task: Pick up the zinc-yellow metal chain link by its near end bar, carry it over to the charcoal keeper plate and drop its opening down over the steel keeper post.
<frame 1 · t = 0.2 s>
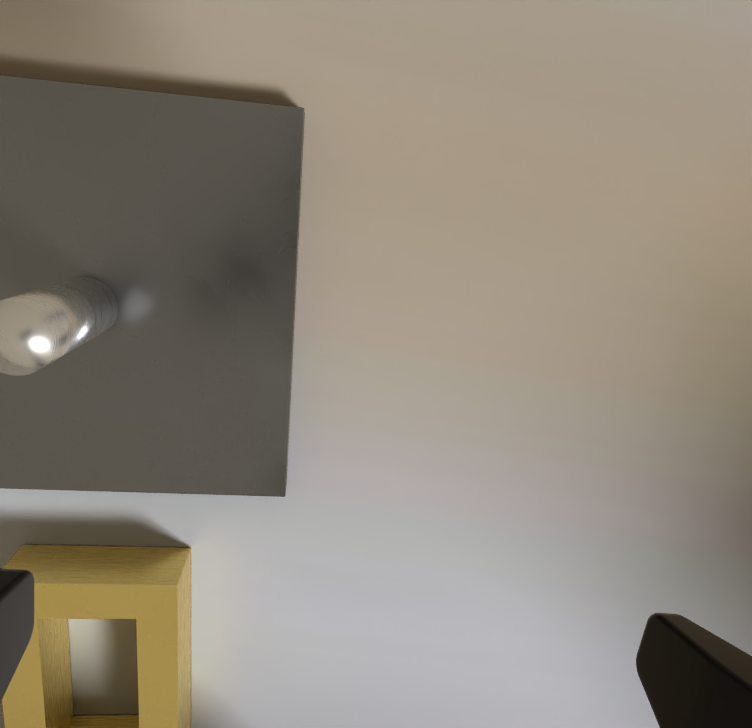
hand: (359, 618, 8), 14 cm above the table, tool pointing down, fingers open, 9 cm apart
keeper plate: (98, 301, 21), on the table
chain link: (112, 649, 24), on the table
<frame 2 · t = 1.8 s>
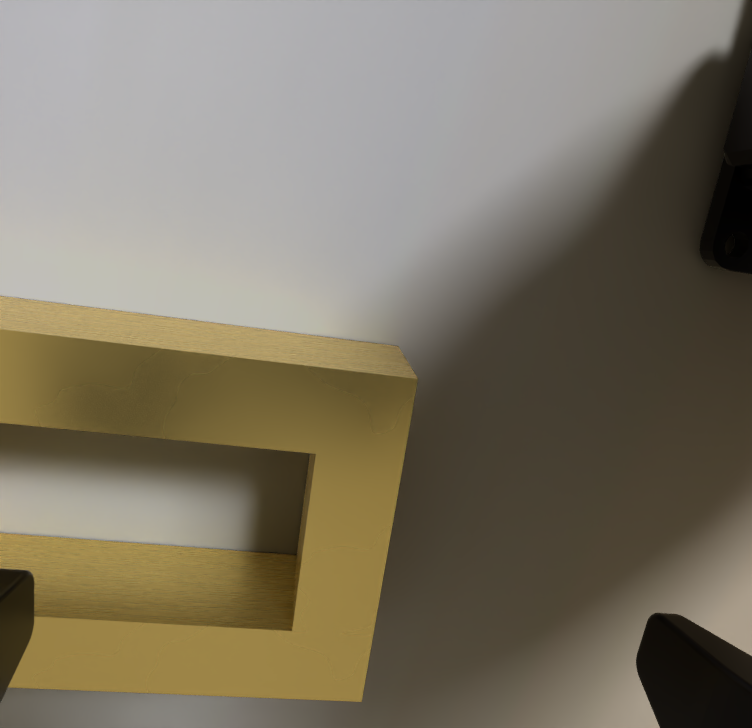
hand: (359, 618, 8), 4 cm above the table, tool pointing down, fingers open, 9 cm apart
chain link: (136, 468, 12), on the table
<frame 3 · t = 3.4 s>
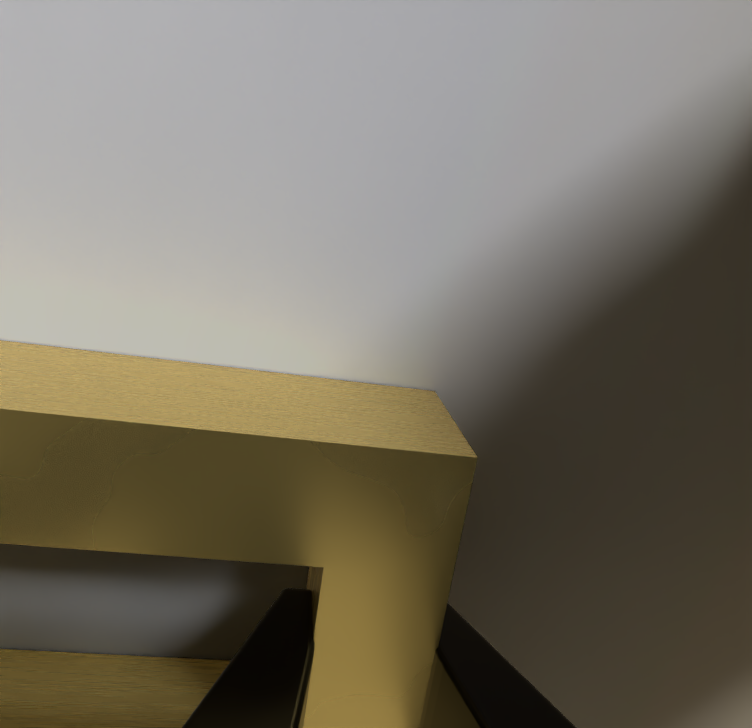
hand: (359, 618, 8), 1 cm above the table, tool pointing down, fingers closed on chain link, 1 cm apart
chain link: (78, 556, 9), on the table, touching gripper
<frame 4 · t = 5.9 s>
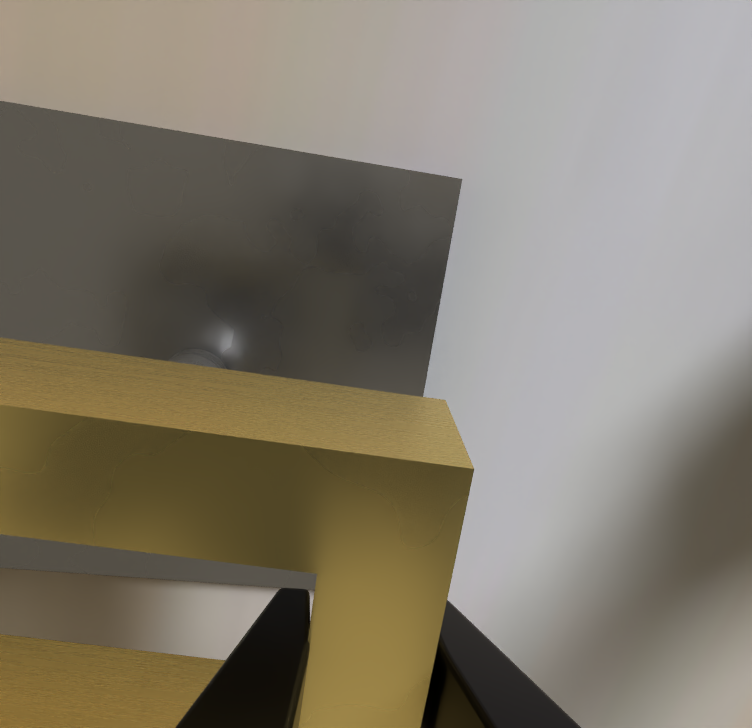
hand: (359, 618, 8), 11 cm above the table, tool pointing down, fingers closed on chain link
keeper plate: (202, 371, 18), on the table
chain link: (95, 551, 9), point 10 cm above the table, touching gripper
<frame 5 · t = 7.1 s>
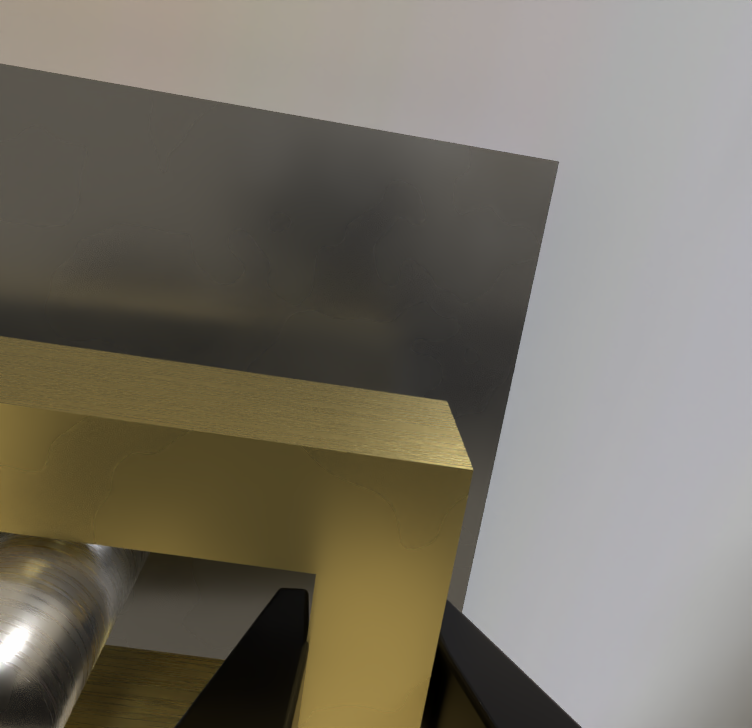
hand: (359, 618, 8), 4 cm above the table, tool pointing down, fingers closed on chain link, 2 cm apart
keeper plate: (132, 471, 12), on the table
chain link: (98, 549, 9), point 3 cm above the table, tilted 6°, touching gripper
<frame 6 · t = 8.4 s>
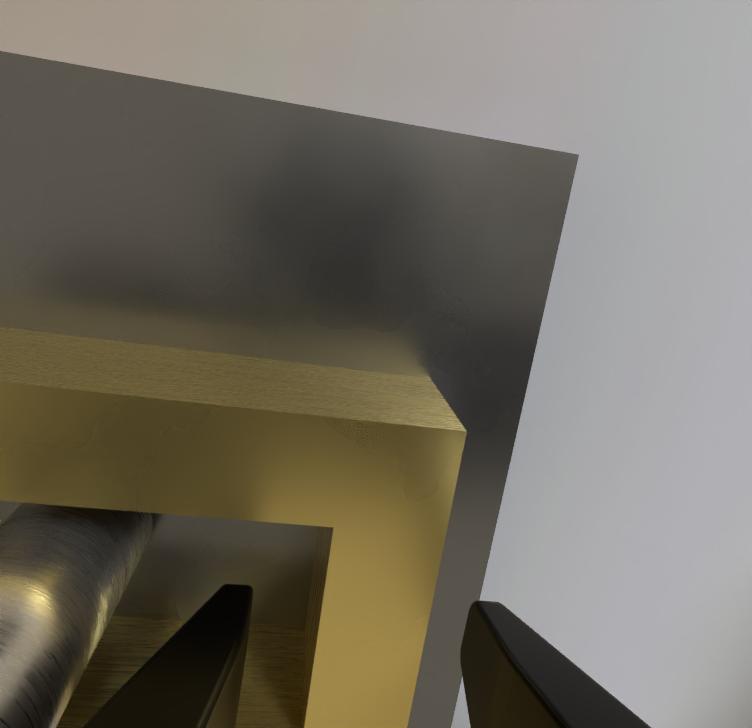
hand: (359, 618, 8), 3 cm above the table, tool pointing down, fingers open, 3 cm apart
keeper plate: (111, 493, 11), on the table
chain link: (109, 527, 10), point 1 cm above the table, touching keeper plate
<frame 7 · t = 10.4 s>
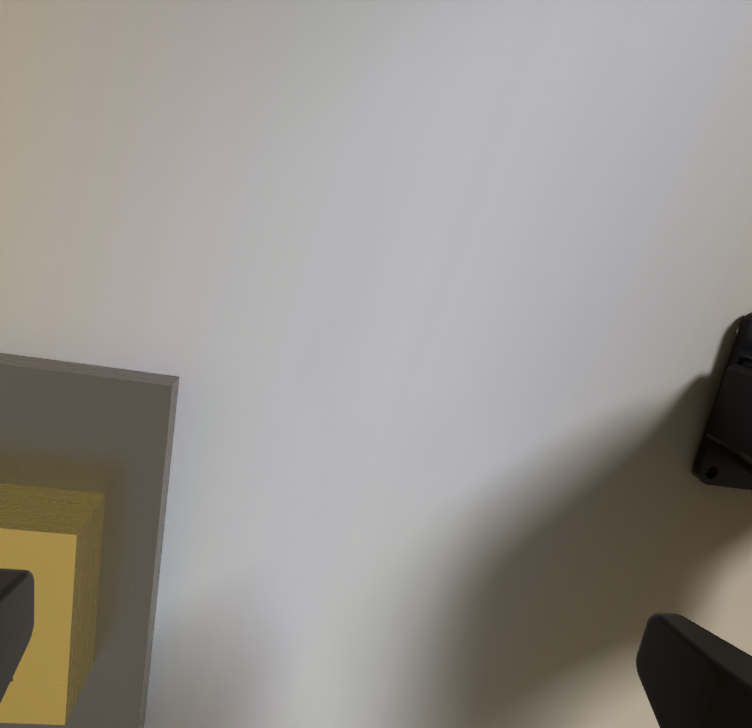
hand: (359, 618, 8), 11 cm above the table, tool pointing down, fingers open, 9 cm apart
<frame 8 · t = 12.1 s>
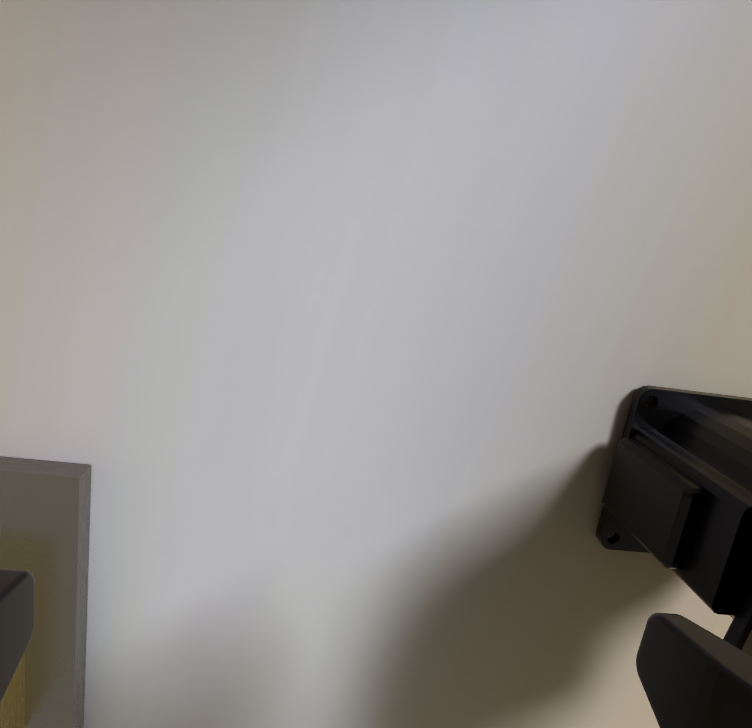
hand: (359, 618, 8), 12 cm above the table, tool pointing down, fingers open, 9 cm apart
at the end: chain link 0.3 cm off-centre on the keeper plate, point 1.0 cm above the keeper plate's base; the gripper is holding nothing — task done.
